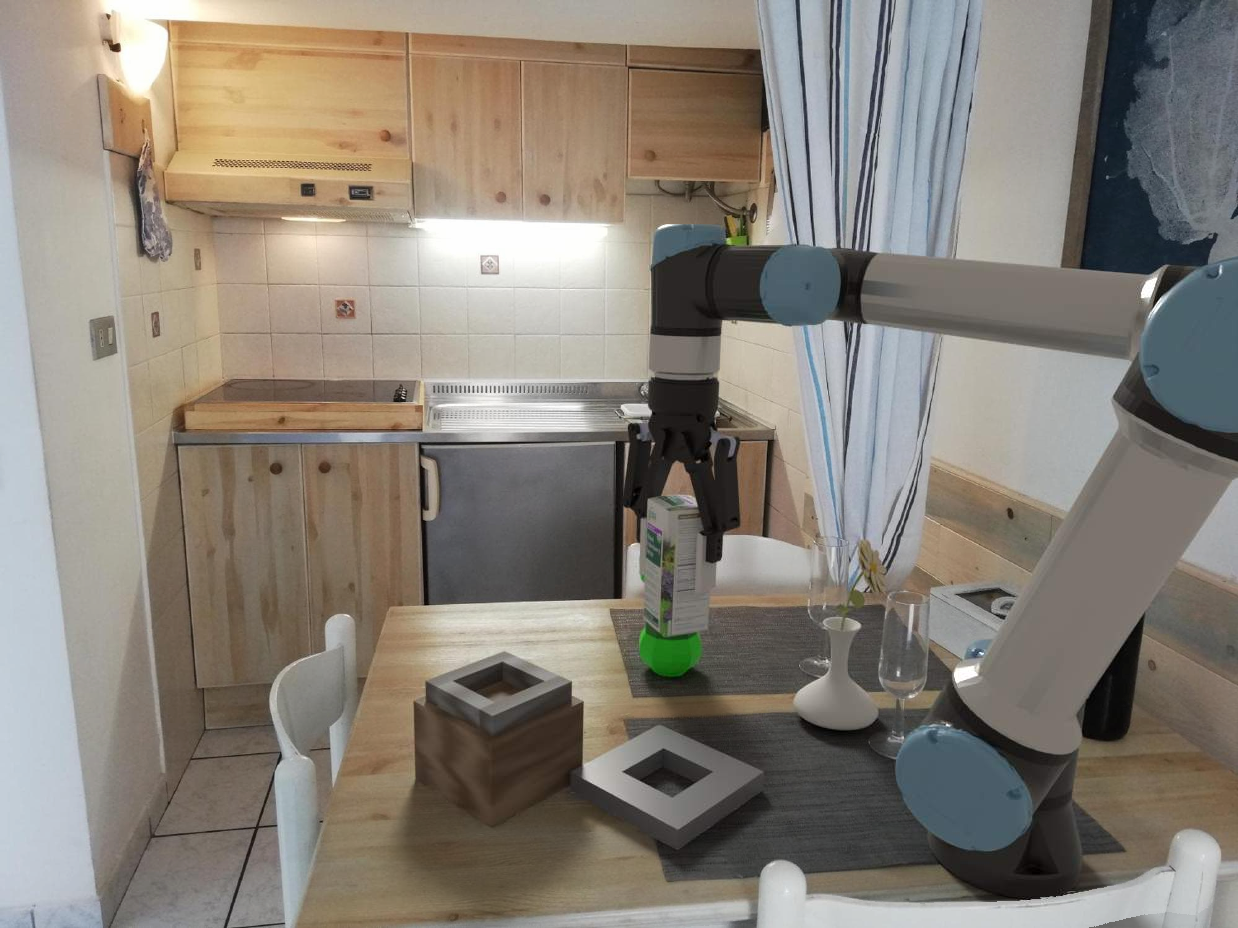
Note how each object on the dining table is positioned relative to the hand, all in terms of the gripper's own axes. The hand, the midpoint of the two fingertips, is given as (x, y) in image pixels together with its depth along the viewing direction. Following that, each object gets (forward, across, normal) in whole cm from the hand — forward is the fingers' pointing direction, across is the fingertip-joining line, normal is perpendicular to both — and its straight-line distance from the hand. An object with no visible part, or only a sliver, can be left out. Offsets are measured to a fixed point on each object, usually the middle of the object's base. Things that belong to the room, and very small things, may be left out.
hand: (676, 580), depth 104 cm
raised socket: (+26, +16, +12) cm, 33 cm away
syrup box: (+6, 0, 0) cm, 6 cm away
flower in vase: (+26, -5, -31) cm, 41 cm away
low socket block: (+26, 0, 0) cm, 26 cm away
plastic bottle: (+26, +21, -26) cm, 43 cm away
